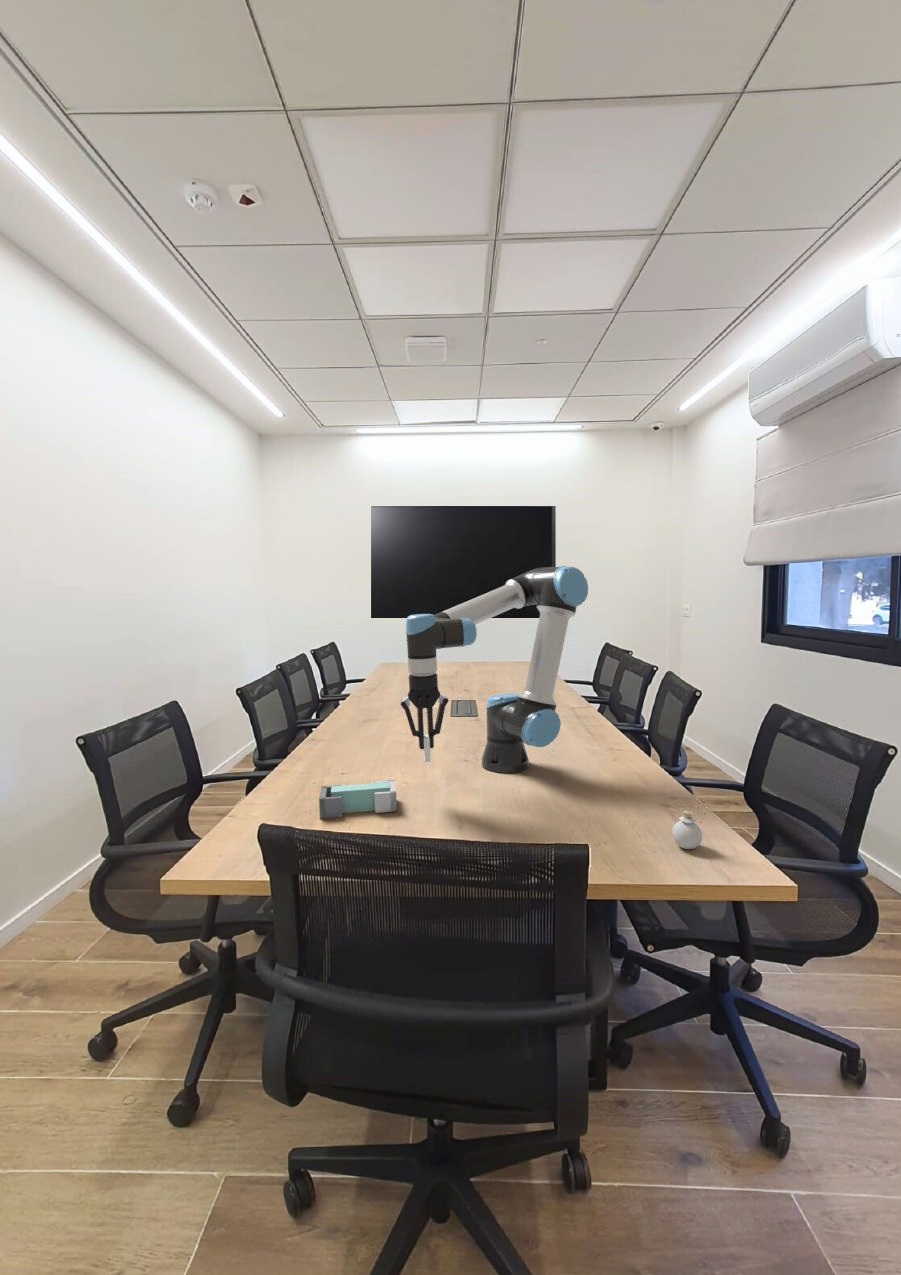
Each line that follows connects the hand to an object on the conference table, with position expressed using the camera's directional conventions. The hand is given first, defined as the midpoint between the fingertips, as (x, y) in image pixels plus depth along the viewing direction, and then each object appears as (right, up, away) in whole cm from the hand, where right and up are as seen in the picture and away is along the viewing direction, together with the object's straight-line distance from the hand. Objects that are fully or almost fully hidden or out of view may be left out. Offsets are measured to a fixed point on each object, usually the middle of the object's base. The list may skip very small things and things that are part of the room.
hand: (427, 760), depth 144 cm
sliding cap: (-11, -12, -1) cm, 16 cm away
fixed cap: (-25, -12, -3) cm, 28 cm away
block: (-17, -12, -2) cm, 21 cm away
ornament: (+59, -14, -25) cm, 66 cm away
